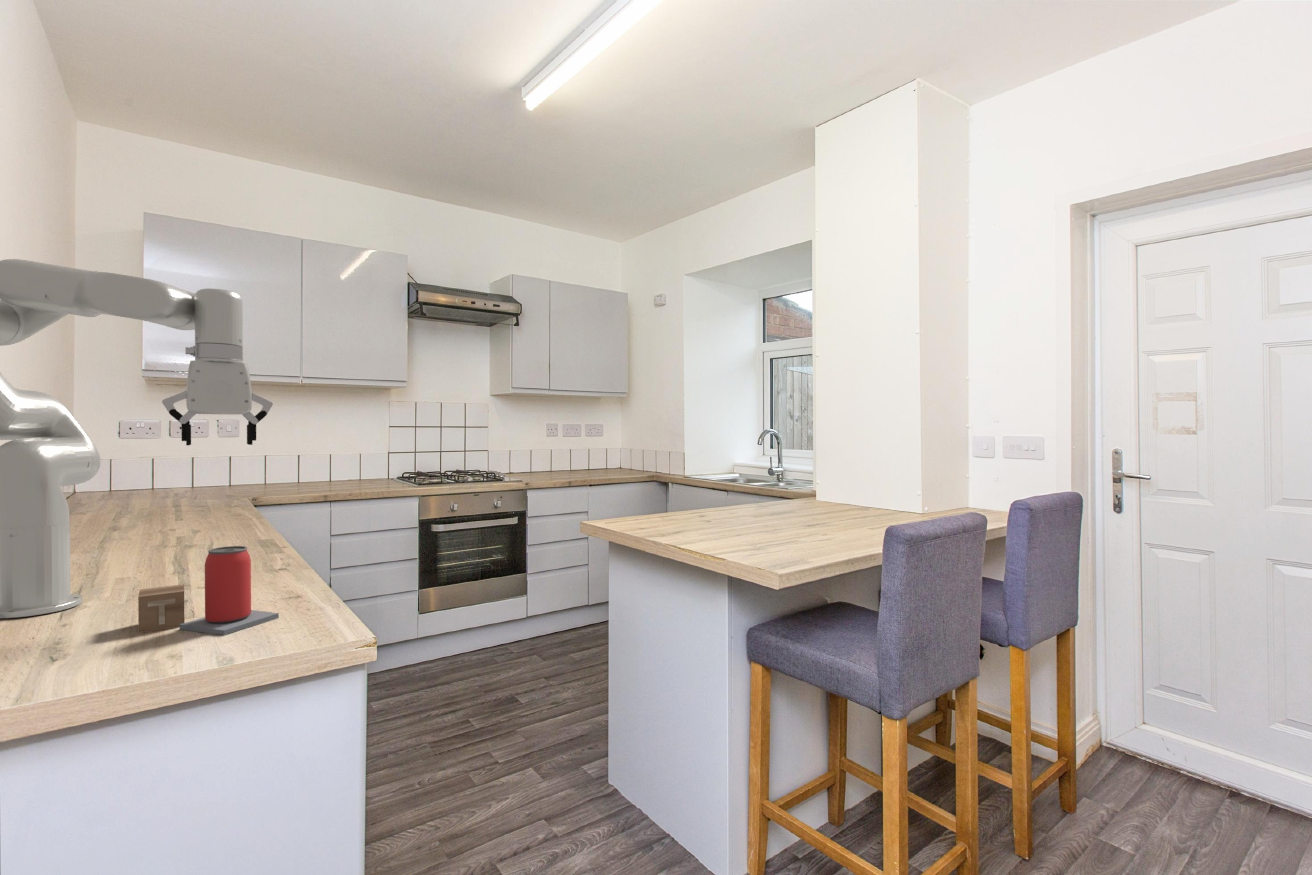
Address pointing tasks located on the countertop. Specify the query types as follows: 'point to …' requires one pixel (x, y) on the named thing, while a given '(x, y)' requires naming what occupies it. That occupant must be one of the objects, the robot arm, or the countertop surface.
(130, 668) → the countertop surface
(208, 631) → the grey mat
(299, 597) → the countertop surface
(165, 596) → the letter block
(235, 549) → the beer can
